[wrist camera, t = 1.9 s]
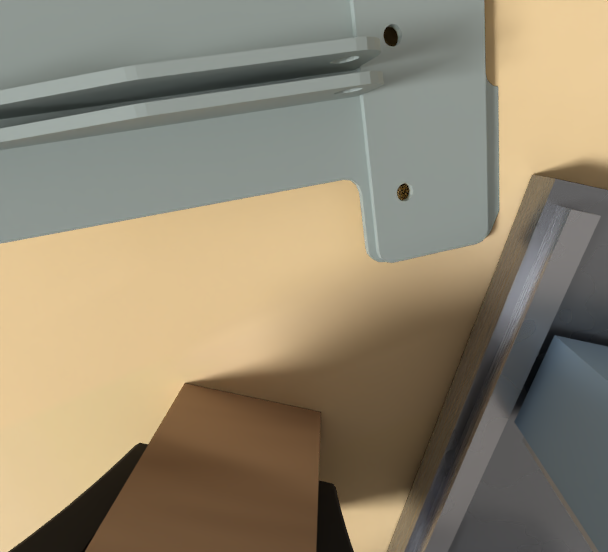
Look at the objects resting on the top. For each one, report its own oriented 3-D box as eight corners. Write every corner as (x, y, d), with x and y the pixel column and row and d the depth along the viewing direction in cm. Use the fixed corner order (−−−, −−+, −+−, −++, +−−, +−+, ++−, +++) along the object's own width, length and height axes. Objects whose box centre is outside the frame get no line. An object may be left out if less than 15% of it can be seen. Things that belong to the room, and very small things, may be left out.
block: (294, 513, 13) (272, 730, 8) (171, 487, 13) (80, 690, 8) (321, 412, 12) (314, 600, 7) (184, 383, 12) (84, 552, 7)
